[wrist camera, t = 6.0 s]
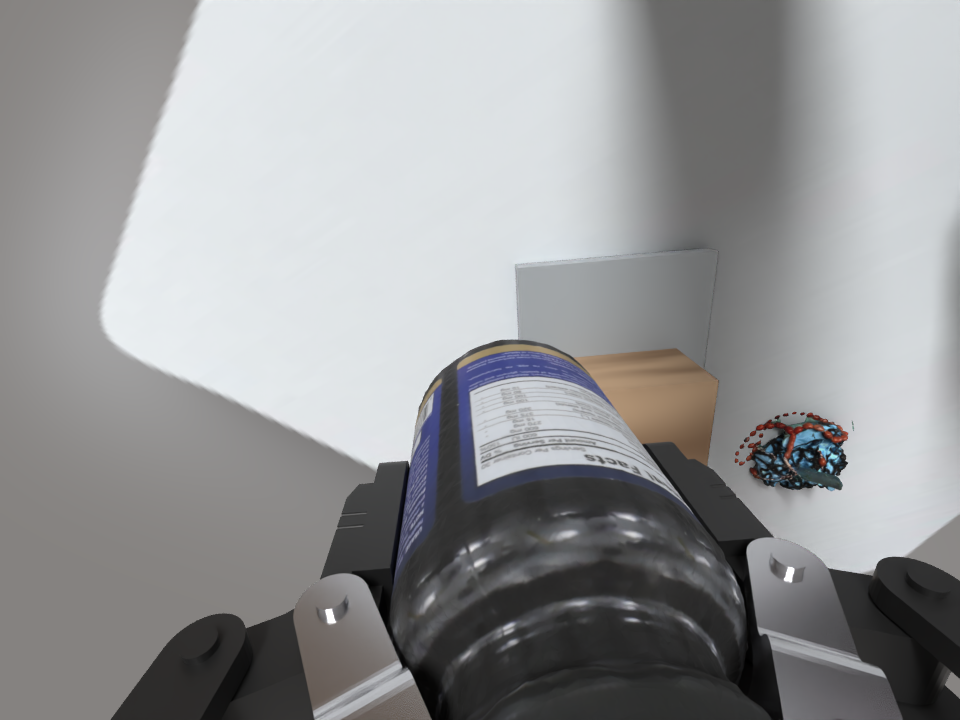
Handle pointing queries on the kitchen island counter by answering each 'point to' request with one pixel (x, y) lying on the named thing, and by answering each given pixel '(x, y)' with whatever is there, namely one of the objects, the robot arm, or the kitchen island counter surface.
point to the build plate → (619, 303)
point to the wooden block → (659, 396)
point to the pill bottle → (555, 558)
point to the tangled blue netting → (800, 454)
